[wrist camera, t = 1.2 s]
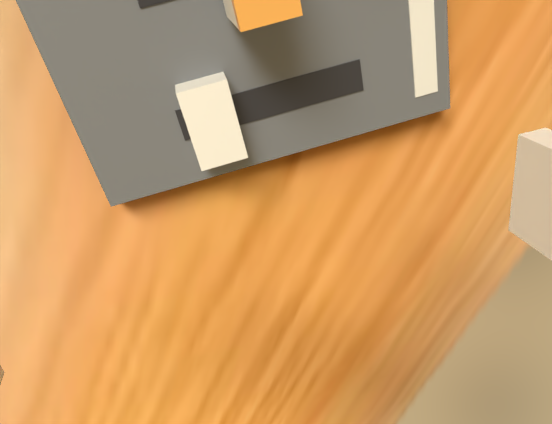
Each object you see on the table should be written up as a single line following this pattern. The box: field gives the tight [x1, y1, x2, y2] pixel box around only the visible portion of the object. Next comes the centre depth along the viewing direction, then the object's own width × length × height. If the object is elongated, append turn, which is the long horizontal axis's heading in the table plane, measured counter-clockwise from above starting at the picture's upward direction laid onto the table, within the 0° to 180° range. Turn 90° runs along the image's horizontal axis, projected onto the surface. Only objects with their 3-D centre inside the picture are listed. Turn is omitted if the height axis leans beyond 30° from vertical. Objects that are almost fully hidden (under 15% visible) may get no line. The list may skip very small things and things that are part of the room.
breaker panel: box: [16, 0, 450, 206], centre depth 28 cm, size 24×16×4 cm, turn 103°
